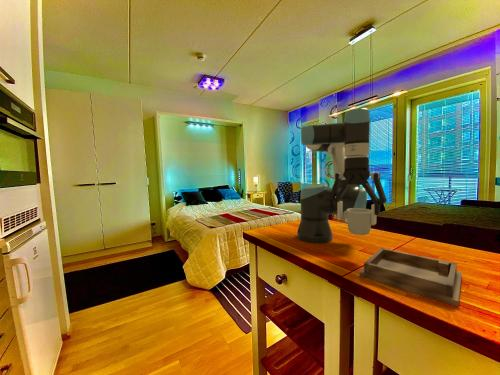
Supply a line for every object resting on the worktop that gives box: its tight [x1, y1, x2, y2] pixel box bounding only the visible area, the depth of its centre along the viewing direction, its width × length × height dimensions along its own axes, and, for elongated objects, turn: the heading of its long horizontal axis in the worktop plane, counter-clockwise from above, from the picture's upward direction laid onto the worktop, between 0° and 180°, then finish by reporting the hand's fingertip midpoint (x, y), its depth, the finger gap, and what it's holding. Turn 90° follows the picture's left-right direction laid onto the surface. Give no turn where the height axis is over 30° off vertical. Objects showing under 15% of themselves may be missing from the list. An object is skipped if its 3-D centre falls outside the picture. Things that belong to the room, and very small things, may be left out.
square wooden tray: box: [358, 247, 463, 308], centre depth 59 cm, size 20×18×4 cm
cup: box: [342, 208, 372, 236], centre depth 74 cm, size 11×8×8 cm
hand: (356, 221), depth 74 cm, fingers closed on cup, 10 cm apart
